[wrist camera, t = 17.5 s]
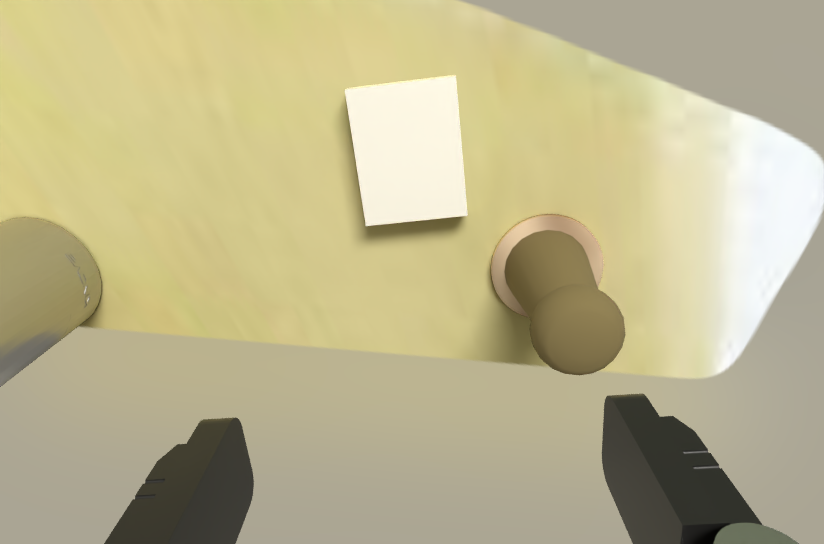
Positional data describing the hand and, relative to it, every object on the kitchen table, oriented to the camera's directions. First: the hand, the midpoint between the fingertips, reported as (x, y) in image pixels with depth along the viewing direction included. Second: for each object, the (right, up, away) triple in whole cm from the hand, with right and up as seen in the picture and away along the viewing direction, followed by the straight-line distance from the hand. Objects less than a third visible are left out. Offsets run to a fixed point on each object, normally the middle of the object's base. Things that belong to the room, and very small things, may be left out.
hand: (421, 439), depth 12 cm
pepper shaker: (+10, +4, +28) cm, 30 cm away
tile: (0, +8, +27) cm, 28 cm away
